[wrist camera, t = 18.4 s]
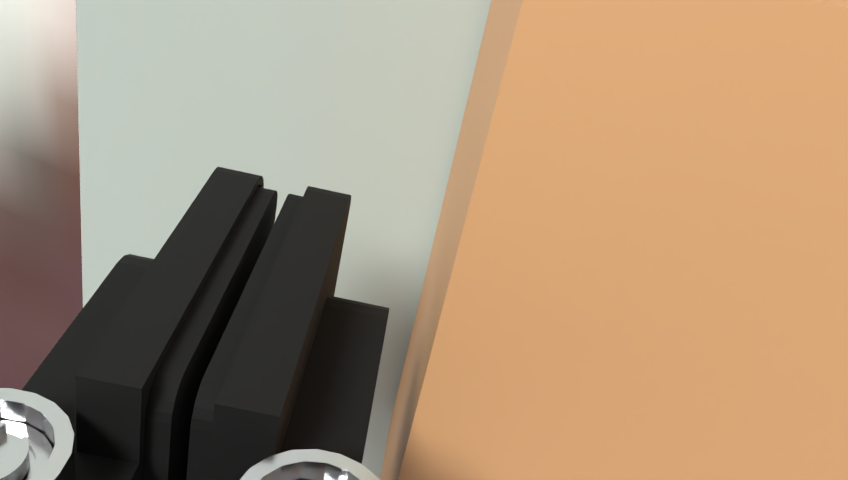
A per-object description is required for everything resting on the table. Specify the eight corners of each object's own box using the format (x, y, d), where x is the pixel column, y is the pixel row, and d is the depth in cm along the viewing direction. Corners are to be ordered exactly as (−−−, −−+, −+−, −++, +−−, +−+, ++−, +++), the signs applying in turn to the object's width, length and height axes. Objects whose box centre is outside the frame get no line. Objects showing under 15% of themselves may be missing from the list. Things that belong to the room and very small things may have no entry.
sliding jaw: (1299, 40, 11) (1898, 249, 6) (920, 532, 16) (1090, 849, 11) (524, -137, 11) (538, -60, 6) (390, 420, 16) (341, 698, 11)
